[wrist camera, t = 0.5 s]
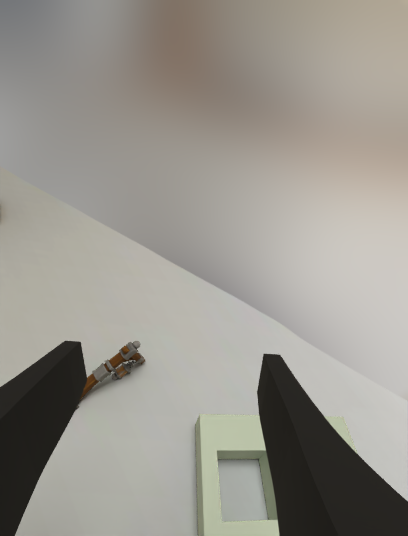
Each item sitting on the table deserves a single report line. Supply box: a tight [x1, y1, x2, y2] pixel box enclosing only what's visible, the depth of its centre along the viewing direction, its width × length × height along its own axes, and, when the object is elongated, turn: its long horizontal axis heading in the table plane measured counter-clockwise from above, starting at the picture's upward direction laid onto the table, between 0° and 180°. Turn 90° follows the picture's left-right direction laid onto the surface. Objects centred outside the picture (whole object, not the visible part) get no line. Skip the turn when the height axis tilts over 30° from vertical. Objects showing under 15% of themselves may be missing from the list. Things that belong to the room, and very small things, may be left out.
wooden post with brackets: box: [76, 341, 145, 409], centre depth 28 cm, size 2×8×4 cm, turn 129°
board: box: [195, 414, 357, 536], centre depth 23 cm, size 10×14×2 cm
